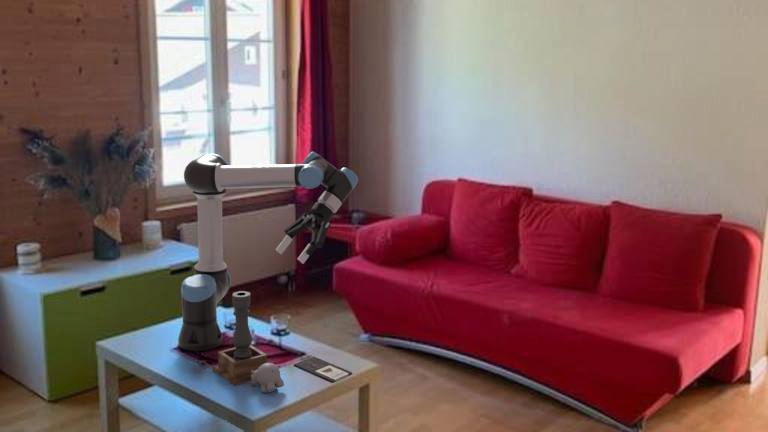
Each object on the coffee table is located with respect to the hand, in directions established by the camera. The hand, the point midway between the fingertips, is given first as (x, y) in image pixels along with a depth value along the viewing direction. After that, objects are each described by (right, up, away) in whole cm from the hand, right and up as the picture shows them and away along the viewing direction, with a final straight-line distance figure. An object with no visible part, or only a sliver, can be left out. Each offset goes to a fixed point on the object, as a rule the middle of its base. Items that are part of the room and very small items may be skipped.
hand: (289, 256), depth 260 cm
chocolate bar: (+12, -37, -7) cm, 40 cm away
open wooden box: (-14, -37, -10) cm, 40 cm away
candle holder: (-14, -35, -10) cm, 39 cm away
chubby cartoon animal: (-5, -40, -21) cm, 45 cm away
